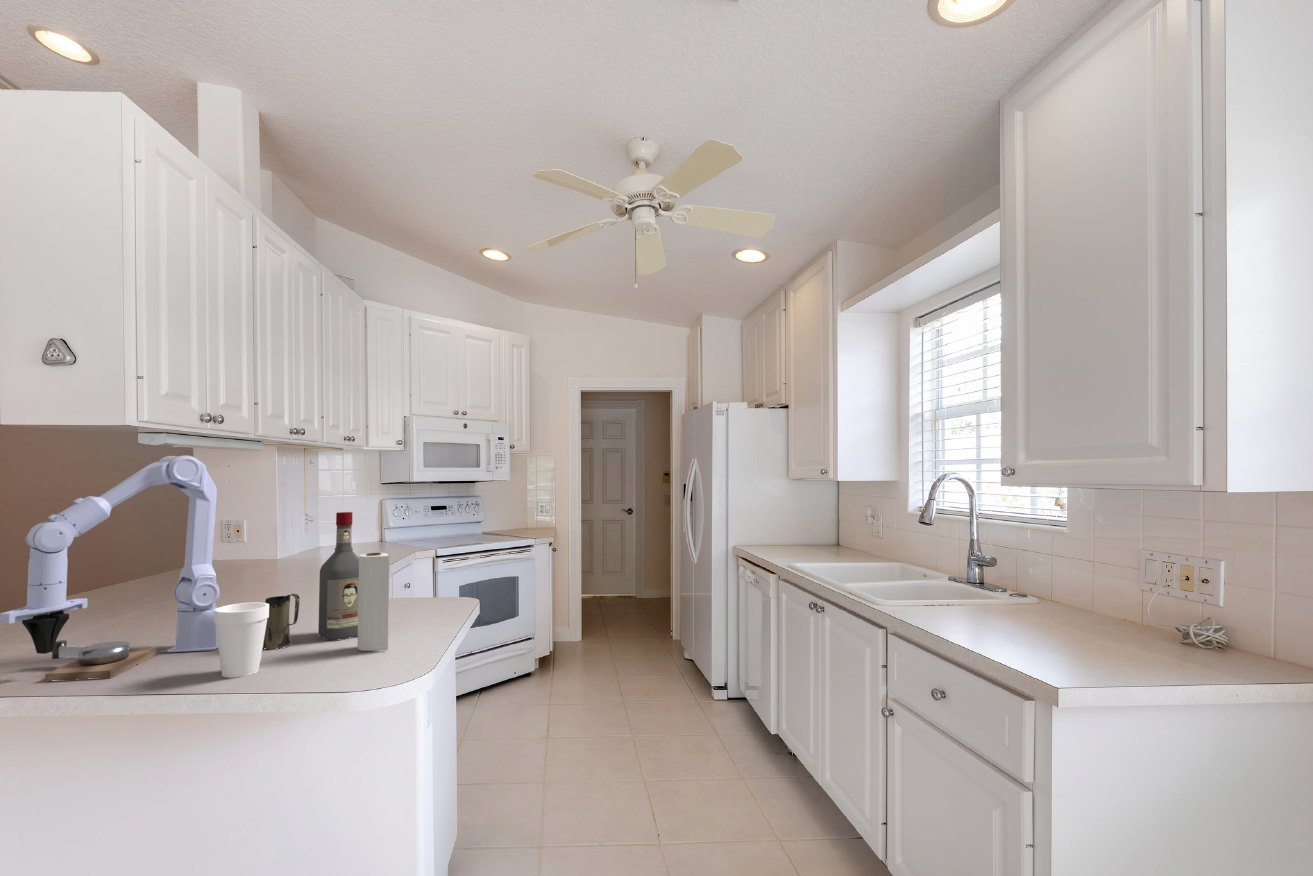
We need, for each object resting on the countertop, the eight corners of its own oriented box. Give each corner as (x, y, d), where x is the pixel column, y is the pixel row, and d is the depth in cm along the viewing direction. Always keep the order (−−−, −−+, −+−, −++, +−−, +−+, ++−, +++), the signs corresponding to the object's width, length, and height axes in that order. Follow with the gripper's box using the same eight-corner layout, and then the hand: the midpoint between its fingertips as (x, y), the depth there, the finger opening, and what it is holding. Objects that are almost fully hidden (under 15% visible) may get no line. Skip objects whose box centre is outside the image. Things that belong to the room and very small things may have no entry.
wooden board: (155, 655, 144) (156, 647, 144) (110, 678, 128) (110, 669, 128) (98, 658, 141) (98, 650, 141) (44, 682, 126) (45, 673, 126)
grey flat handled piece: (139, 653, 138) (139, 637, 139) (104, 665, 130) (105, 648, 131) (72, 652, 139) (72, 636, 140) (34, 663, 131) (34, 647, 132)
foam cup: (204, 682, 126) (206, 613, 126) (221, 667, 135) (223, 604, 135) (260, 677, 128) (262, 610, 129) (273, 663, 137) (275, 601, 138)
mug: (256, 649, 148) (257, 595, 149) (274, 642, 154) (275, 591, 154) (288, 650, 147) (289, 596, 147) (304, 644, 152) (305, 592, 153)
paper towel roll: (356, 646, 150) (358, 553, 151) (385, 643, 153) (386, 551, 154) (358, 654, 144) (360, 556, 145) (388, 651, 147) (389, 555, 148)
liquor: (315, 635, 160) (318, 512, 161) (353, 628, 167) (355, 510, 168) (329, 642, 154) (331, 514, 155) (368, 635, 160) (370, 512, 162)
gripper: (68, 576, 137) (65, 642, 137) (-12, 589, 123) (-16, 662, 122) (97, 577, 136) (94, 643, 136) (19, 590, 122) (16, 664, 121)
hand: (44, 652), depth 129 cm, fingers closed
